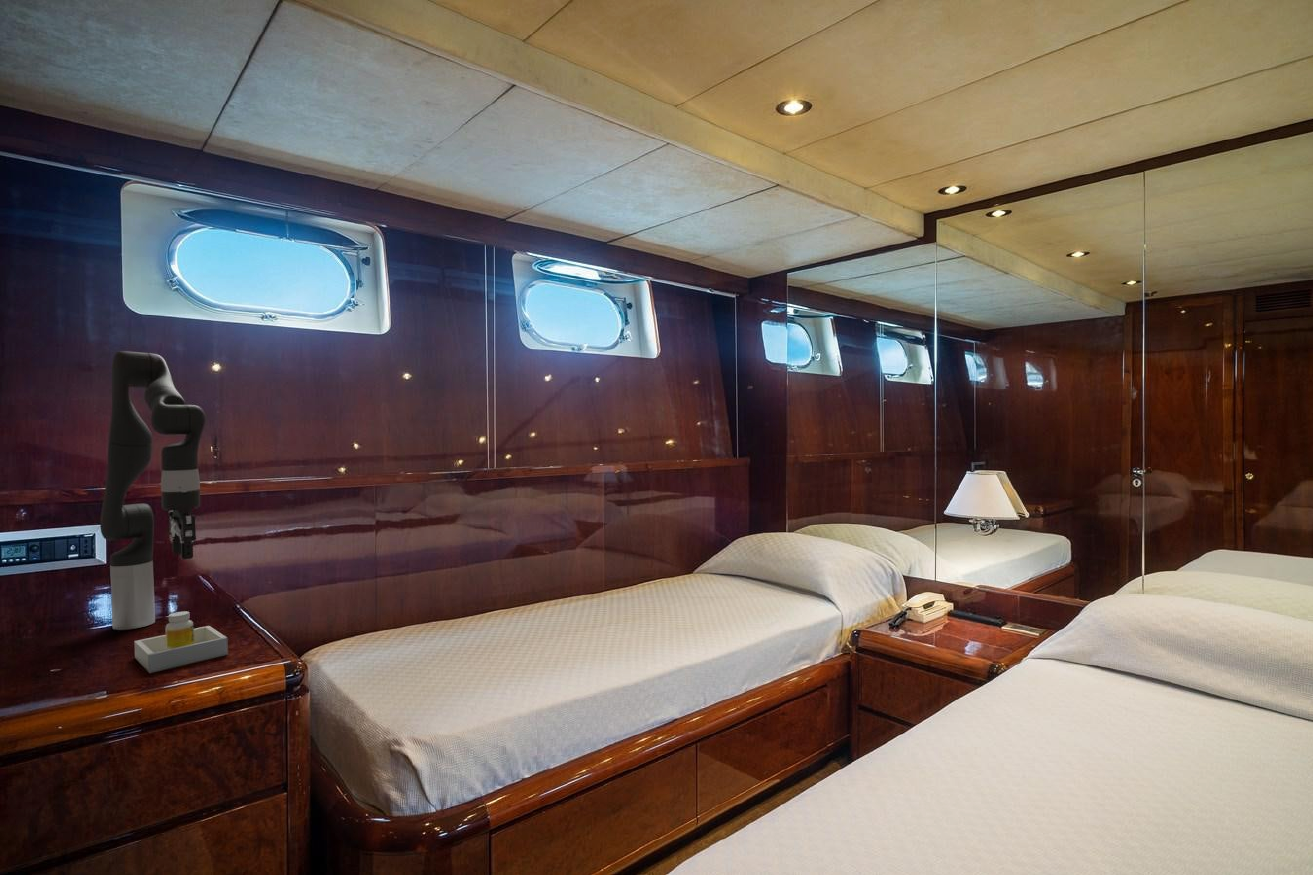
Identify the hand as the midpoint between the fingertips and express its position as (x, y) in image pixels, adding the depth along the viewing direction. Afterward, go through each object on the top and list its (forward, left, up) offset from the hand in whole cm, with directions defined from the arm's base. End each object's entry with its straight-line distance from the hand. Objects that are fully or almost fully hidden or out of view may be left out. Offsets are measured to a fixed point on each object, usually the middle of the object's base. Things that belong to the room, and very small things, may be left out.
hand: (182, 556), depth 160 cm
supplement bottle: (+3, -2, -23) cm, 23 cm away
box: (+3, -2, -23) cm, 23 cm away
